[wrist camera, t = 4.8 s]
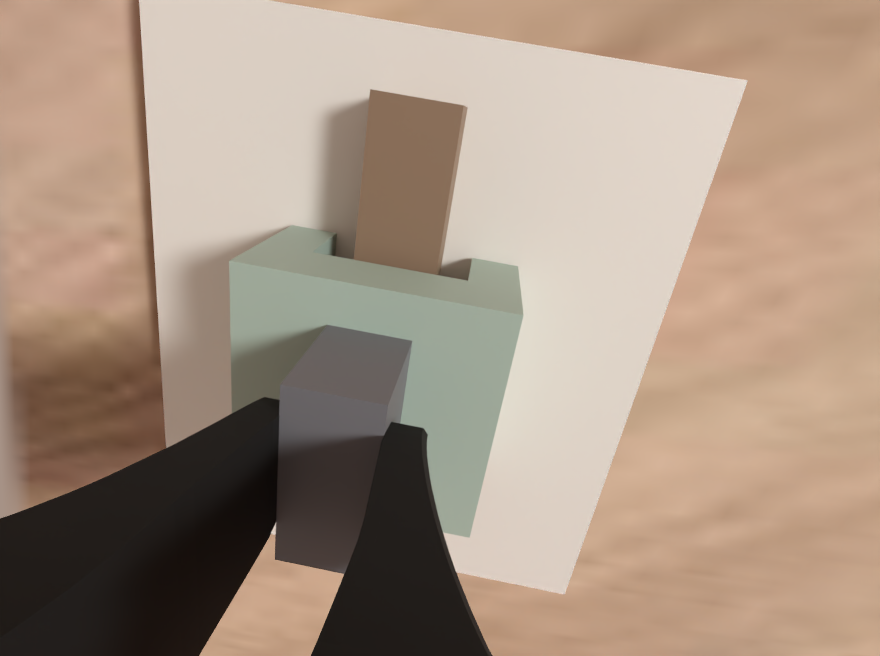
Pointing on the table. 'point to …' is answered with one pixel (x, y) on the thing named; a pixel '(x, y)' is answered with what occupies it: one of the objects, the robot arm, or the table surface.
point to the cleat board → (518, 206)
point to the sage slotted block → (367, 379)
